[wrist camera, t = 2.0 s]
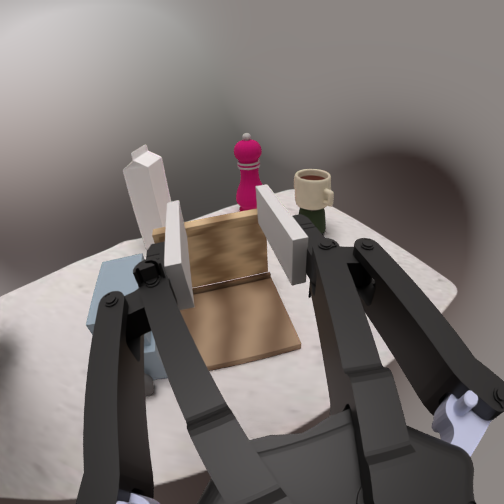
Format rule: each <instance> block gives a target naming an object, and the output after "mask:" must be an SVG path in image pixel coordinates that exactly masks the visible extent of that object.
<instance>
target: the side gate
mask: <svg viewBox="0 0 504 504" xmlns="http://www.w3.org/2000/svg"><path fill="white" fill-rule="evenodd" d="M184 226H185V230H186V234H187V241H188V252H189V262H190V272H191V281H192V288H193V287H198V286H203V285H208V284H212V283H217V282H222V281H227V280H231V279H236V278H241V277H245V276H250V275H255V274H259V273H264V272H268V261H267V238H266V236H265V234H264V233H263V231H262V229H261V227H260V225H259V223H258V213H257V209H252V210H246V211H241V212H235V213H230V214H225V215H220V216H214V217H209V218H204V219H199V220H194V221H190V222H185V223H184ZM165 230H166V227H161V228H157V229H153V232H152V237H153V240H154V243H160V242H164V241H165Z"/></svg>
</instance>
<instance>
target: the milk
mask: <svg viewBox="0 0 504 504" xmlns="http://www.w3.org/2000/svg"><path fill="white" fill-rule="evenodd" d="M131 155H132V159H133V161H132V162H131V163H130V164H129V165H128V166H126V168H125V169H124V170H123V173H124V177H125V181H126V184H127V188H128V192H129V195H130V199H131V202H132V206H133V209H134V213H135V216H136V219H137V222H138V226H139V229H140V232H141V235H142V238H143V241H144V244H145V247H146V250H148V248H149V247H150V245H151V244H155V243H154V240H153V237H152V232H153V229H157V228H161V227H166V213H167V203H169V202H171V198H170V195H169V190H168V185H167V180H166V176H165V171H164V166H163V162H162V157H161V156H158V155H156V154H154V153H152V152H150V151H148V148H147V145H144V146H142V147H140V148H138V149H137V150H135V151H133V152H132V154H131Z"/></svg>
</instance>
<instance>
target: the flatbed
mask: <svg viewBox="0 0 504 504" xmlns="http://www.w3.org/2000/svg"><path fill="white" fill-rule="evenodd" d="M192 290H193V298H194V306H195V307H193V308H188V309H183V310H180V312H181V314H182V316H183V319H184V321H185V323H186V325H187V327H188V329H189V332H190V334H191V336H192V338H193V340H194V342H195V344H196V346H197V348H198V350H199V352H200V354H201V356H202V358H203V360H204V362H205V364H206V366H207V368H208V370H209V371H210V370H215V369H220V368H225V367H229V366H234V365H238V364H243V363H247V362H251V361H255V360H259V359H263V358H267V357H271V356H275V355H279V354H282V353H286V352H290V351H293V350H297V349H300V348H301V342H300V340H299V337H298V335H297V333H296V331H295V329H294V326H293V324H292V322H291V320H290V318H289V315H288V313H287V311H286V309H285V307H284V305H283V302H282V300H281V298H280V296H279V294H278V292H277V289H276V287H275V285H274V283H273V281H272V278H271V274H270V272H268V273H263V274H259V275H254V276H250V277H245V278H240V279H236V280H231V281H226V282H222V283H217V284H212V285H207V286H202V287H198V288H193V289H192Z"/></svg>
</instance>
